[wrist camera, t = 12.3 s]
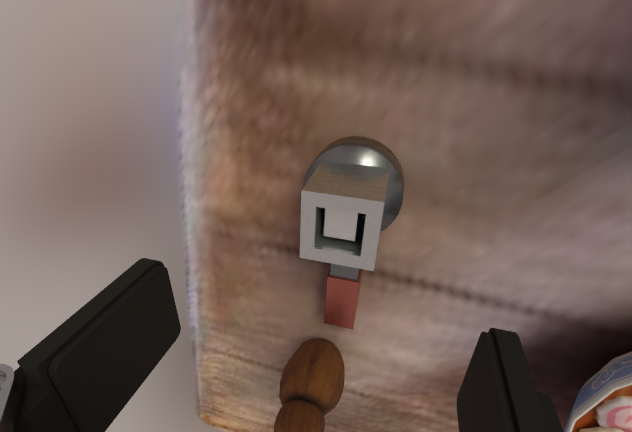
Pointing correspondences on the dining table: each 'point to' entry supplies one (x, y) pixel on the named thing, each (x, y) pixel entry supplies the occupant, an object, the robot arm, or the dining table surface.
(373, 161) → the ratchet
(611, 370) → the ramen bowl
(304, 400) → the wooden figurine
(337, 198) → the socket
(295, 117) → the dining table surface
